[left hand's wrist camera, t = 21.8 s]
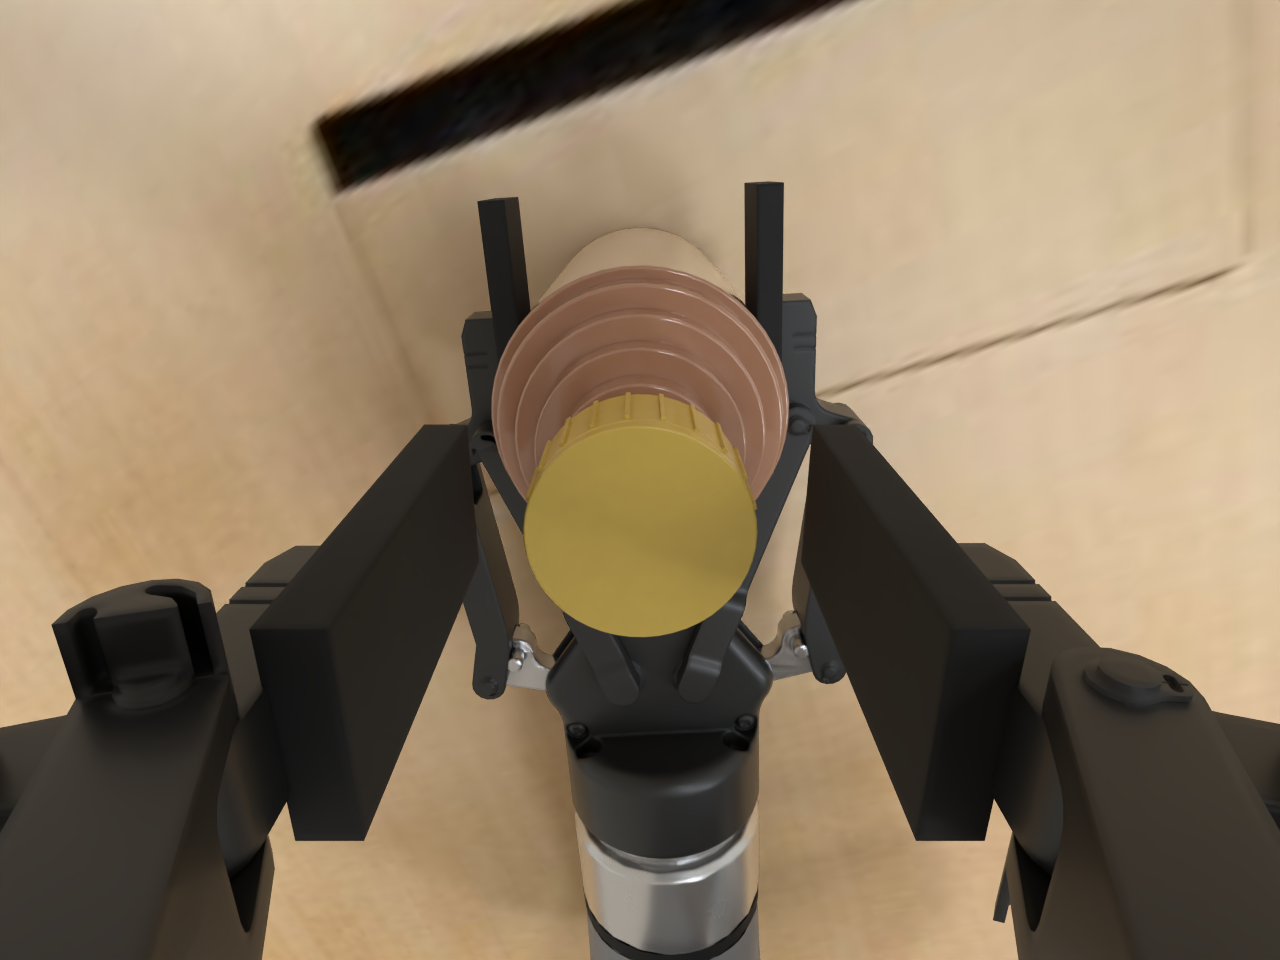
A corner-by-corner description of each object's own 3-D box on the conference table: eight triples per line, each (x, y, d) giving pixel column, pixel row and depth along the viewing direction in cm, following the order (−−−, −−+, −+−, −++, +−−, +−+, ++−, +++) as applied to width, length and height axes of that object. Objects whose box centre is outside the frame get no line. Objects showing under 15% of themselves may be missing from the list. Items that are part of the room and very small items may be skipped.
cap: (784, 523, 14) (804, 572, 13) (608, 618, 15) (604, 676, 13) (676, 348, 13) (682, 375, 11) (492, 462, 14) (470, 503, 12)
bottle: (767, 308, 30) (939, 489, 13) (653, 443, 32) (668, 754, 15) (625, 186, 28) (602, 207, 11) (513, 336, 30) (350, 549, 13)
